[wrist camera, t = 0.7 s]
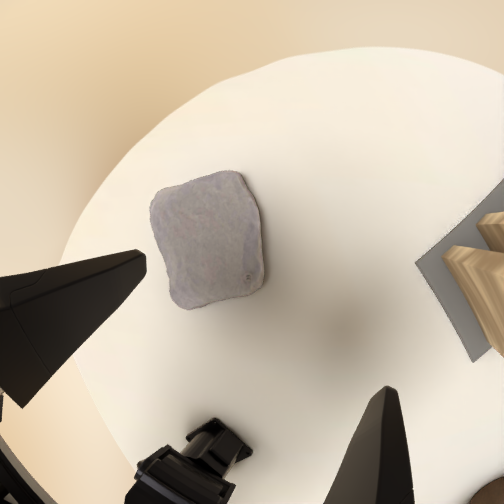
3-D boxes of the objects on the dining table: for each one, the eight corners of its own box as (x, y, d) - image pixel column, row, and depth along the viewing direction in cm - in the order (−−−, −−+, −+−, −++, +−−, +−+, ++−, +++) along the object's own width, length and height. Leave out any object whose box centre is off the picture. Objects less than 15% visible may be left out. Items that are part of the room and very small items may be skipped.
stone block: (248, 167, 28) (158, 199, 30) (240, 154, 24) (137, 193, 25) (283, 283, 29) (189, 308, 30) (281, 292, 24) (172, 320, 25)
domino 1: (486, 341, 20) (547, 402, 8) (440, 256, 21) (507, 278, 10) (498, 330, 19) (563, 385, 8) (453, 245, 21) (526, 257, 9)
